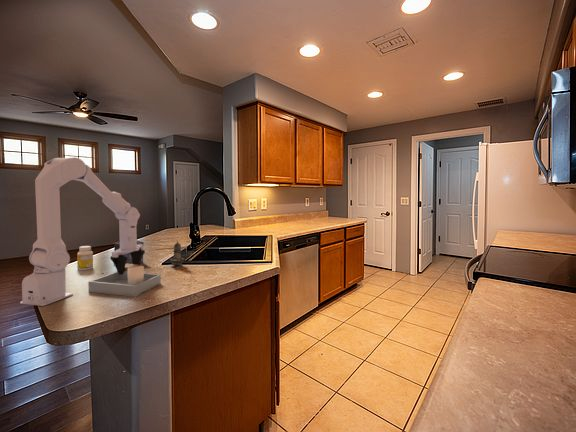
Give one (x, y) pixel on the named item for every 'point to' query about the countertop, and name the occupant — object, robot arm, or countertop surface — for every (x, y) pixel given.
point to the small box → (129, 259)
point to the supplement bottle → (85, 258)
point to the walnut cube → (129, 266)
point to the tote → (123, 284)
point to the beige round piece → (135, 275)
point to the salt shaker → (177, 256)
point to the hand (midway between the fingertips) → (128, 271)
